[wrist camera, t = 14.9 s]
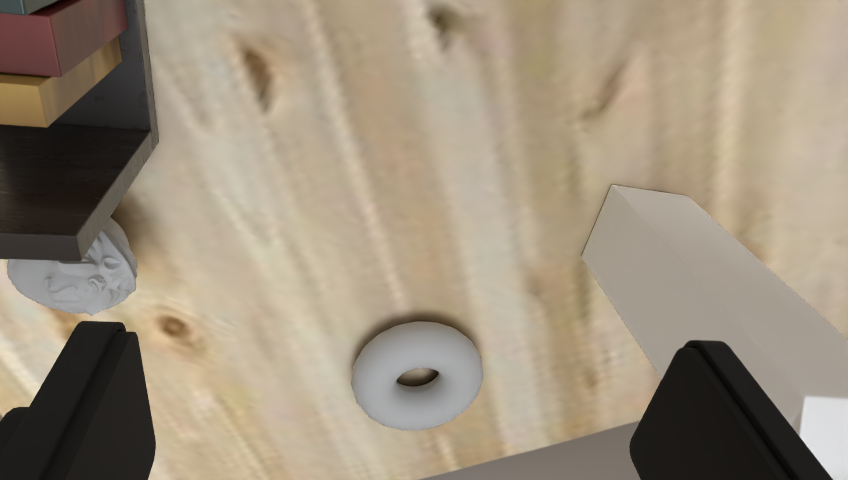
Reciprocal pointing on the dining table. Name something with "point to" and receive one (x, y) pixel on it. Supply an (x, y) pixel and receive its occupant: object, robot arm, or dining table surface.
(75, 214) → the book rack
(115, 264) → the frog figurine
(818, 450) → the milk
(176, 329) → the dining table surface
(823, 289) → the dining table surface
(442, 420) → the donut
